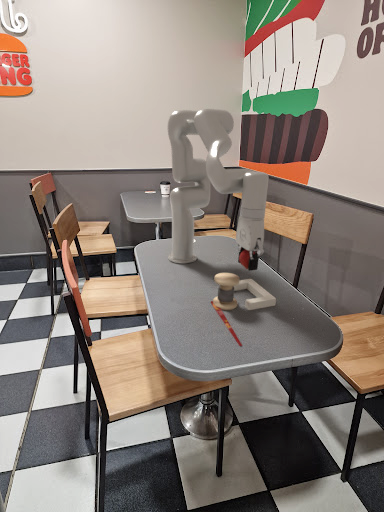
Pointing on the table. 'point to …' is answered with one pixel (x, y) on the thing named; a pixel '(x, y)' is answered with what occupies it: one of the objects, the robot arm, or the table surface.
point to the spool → (226, 291)
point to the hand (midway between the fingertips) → (247, 265)
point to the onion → (245, 258)
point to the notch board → (262, 295)
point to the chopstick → (226, 322)
